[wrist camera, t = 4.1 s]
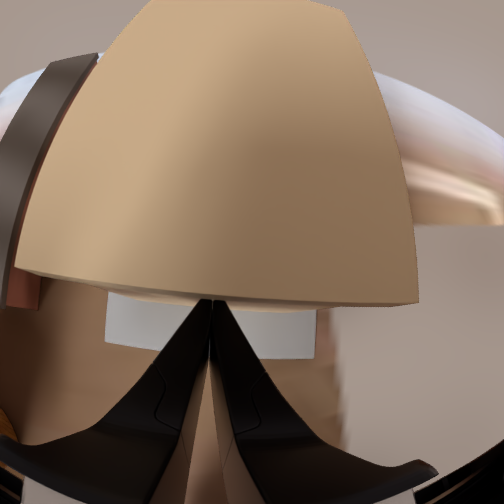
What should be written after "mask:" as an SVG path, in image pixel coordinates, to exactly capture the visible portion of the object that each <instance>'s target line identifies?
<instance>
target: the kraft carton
mask: <svg viewBox="0 0 504 504" xmlns="http://www.w3.org/2000/svg"><path fill="white" fill-rule="evenodd" d="M14 267H16V268H19V269H22V270H25V271H28V272H30V273H33V274H36V275H39V276H43V277H49V278H54V279H60V280H66V281H71V282H77V283H84V284H88V285H91V286H94V287H97V288H100V289H103V290H106V291H109V292H112V293H116V294H119V295H122V296H125V297H128V298H132V299H135V300H140V301H147V302H155V303H164V304H173V305H182V306H192V307H194V306H195V305H196V304H197V302H198V301H199V300H200V299H201V298H202V299H212V301H213V300H224V301H226V303H227V305H228V306H229V308H230V310H239V311H254V312H272V313H293V312H302V311H310V310H318V309H326V308H334V307H340V306H343V307H344V306H345V307H393V306H400V305H408V304H414V303H419V295H418V294H419V293H418V292H419V291H418V270H417V257H416V246H415V237H414V229H413V221H412V214H411V208H410V202H409V196H408V191H407V186H406V181H405V176H404V171H403V167H402V163H401V158H400V154H399V150H398V147H397V143H396V139H395V136H394V132H393V129H392V125H391V122H390V119H389V116H388V113H387V110H386V107H385V104H384V101H383V98H382V95H381V92H380V90H379V87H378V84H377V82H376V79H375V77H374V74H373V72H372V69H371V67H370V65H369V62H368V60H367V58H366V56H365V53H364V51H363V49H362V47H361V45H360V43H359V41H358V39H357V36H356V34H355V33H354V31H353V29H352V27H351V25H350V23H349V21H348V19H347V18H346V16H345V14H344V12H343V11H341V10H338V9H335V8H332V7H329V6H326V5H323V4H319V3H315V2H312V1H307V0H151V1H150V2H149V3H148V4H147V5H146V6H145V7H144V8H143V9H142V10H141V11H140V12H139V13H138V14H137V15H136V16H135V17H134V18H133V19H132V21H131V22H130V23H129V24H128V25H127V26H126V27H125V28H124V30H123V31H122V32H121V33H120V34H119V36H118V37H117V38H116V39H115V41H114V42H113V43H112V44H111V46H110V47H109V48H108V49H107V51H106V52H105V53H104V55H103V56H102V58H101V59H100V60H99V62H98V63H97V65H96V66H95V67H94V69H93V70H92V72H91V73H90V75H89V76H88V78H87V79H86V81H85V83H84V84H83V86H82V87H81V89H80V91H79V92H78V94H77V96H76V97H75V99H74V101H73V103H72V104H71V106H70V108H69V110H68V112H67V113H66V115H65V117H64V119H63V121H62V123H61V125H60V127H59V129H58V131H57V133H56V135H55V137H54V139H53V142H52V144H51V146H50V148H49V151H48V153H47V155H46V158H45V160H44V163H43V165H42V168H41V170H40V173H39V175H38V178H37V181H36V184H35V187H34V190H33V193H32V196H31V199H30V202H29V205H28V209H27V212H26V216H25V219H24V223H23V227H22V231H21V235H20V240H19V244H18V249H17V254H16V259H15V265H14ZM212 305H213V303H212Z"/></svg>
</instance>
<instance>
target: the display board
mask: <svg viewBox="0 0 504 504" xmlns="http://www.w3.org/2000/svg"><path fill="white" fill-rule="evenodd" d="M193 308H194V307H192V306H182V305H173V304H164V303H155V302H147V301H140V300H135V299H132V298H128V297H125V296H122V295H119V294H116V293H112V292H109V294H108V304H107V315H106V328H105V342H109V343H115V344H120V345H126V346H132V347H138V348H144V349H151V350H158V351H161V350H162V349H163V347H164V346H165V345H166V343H167V342H168V341H169V339H170V338H171V337H172V335H173V334H174V333H175V331H176V330H177V329H178V327H179V326H180V325H181V323H182V322H183V321H184V319H185V318H186V317H187V316H188V314H189V313H190V312H191V310H192V309H193ZM231 312H232V314H233V315H234V317H235V319H236V321H237V322H238V324H239V326H240V328H241V329H242V331H243V333H244V335H245V336H246V338H247V340H248V341H249V343H250V345H251V347H252V348H253V350H254V352H255V353H256V355H257V357H258V358H259V359H314V351H315V333H316V310H310V311H302V312H293V313H272V312H254V311H239V310H231ZM209 350H210V349H209Z"/></svg>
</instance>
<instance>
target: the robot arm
mask: <svg viewBox="0 0 504 504" xmlns="http://www.w3.org/2000/svg"><path fill="white" fill-rule="evenodd" d="M212 303H213V305H212ZM209 349H210V350H209ZM208 361H209V366H210V377H211V387H212V396H213V405H214V414H215V422H216V430H217V438H218V445H219V452H220V459H221V466H222V470H223V478H224V484H225V490H226V496H227V501H228V504H504V439H503V440H502V441H501V442H499V443H498V444H496V445H495V446H494V447H492V448H491V449H489V450H488V451H486V452H485V453H483V454H482V455H480V456H479V457H477V458H476V459H474V460H472V461H471V462H469V463H467V464H466V465H464V466H462V467H460V468H459V469H457V470H455V471H453V472H452V473H450V474H448V475H446V476H444V477H442V478H440V479H439V480H437V481H435V482H433V483H431V484H429V485H427V486H425V487H423V488H421V489H420V490H417V491H415V492H414V491H413V487H416V486H418V485H420V484H422V483H424V482H426V481H428V480H430V479H431V478H433V477H435V476H437V475H438V474H439V473H438V471H437V470H436V469H435V468H434V467H433V466H431V465H430V464H428V463H426V462H424V461H422V460H420V459H417V460H413V461H411V462H408V463H405V464H403V465H400V466H396V467H385V466H380V465H377V464H374V463H371V462H369V461H366V460H363V459H361V458H358V457H356V456H354V455H351V454H349V453H347V452H344V451H342V450H340V449H338V448H335V447H333V446H331V445H329V444H327V443H326V442H324V441H323V440H322V439H320V438H319V437H318V436H317V435H316V434H315V433H314V432H313V431H312V430H311V429H310V428H309V426H308V425H307V424H306V423H305V422H304V421H303V420H302V418H301V417H300V416H299V415H298V414H297V413H296V412H295V410H294V409H293V408H292V407H291V406H290V404H289V403H288V402H287V401H286V399H285V398H284V397H283V396H282V394H281V393H280V392H279V390H278V389H277V387H276V386H275V384H274V383H273V381H272V380H271V378H270V376H269V375H268V373H267V372H266V370H265V368H264V367H263V365H262V363H261V362H260V360H259V358H258V357H257V355H256V353H255V352H254V350H253V348H252V347H251V345H250V343H249V341H248V340H247V338H246V336H245V335H244V333H243V331H242V329H241V328H240V326H239V324H238V322H237V321H236V319H235V317H234V315H233V314H232V312H231V310H230V308H229V306H228V305H227V303H226V301H224V300H213V301H212V299H202V298H201V299H200V300H199V301H198V302H197V304H196V305H195V306H194V308H193V309H192V310H191V312H190V313H189V314H188V316H187V317H186V318H185V319H184V321H183V322H182V323H181V325H180V326H179V327H178V329H177V330H176V331H175V333H174V334H173V335H172V337H171V338H170V339H169V341H168V342H167V343H166V345H165V346H164V347H163V349H162V350H161V352H160V353H159V354H158V356H157V357H156V358H155V360H154V361H153V363H152V364H151V365H150V366H149V368H148V369H147V370H146V372H145V373H144V374H143V375H142V377H141V378H140V379H139V380H138V382H137V383H136V384H135V385H134V386H133V387H132V388H131V389H130V390H129V391H128V392H127V394H126V395H125V396H124V397H123V398H122V399H121V400H120V401H119V402H118V403H117V404H116V405H115V406H114V407H113V408H112V409H111V410H110V411H109V412H108V413H107V414H106V415H105V416H104V417H103V418H102V419H101V420H100V421H98V422H97V423H96V424H94V425H93V426H91V427H89V428H88V429H85V430H83V431H80V432H77V433H74V434H72V435H69V436H66V437H63V438H60V439H57V440H54V441H51V442H47V443H44V444H40V445H24V444H21V443H19V442H17V441H15V440H13V439H12V438H10V437H8V436H6V435H4V434H0V461H1V462H3V463H4V464H6V465H7V466H9V467H11V468H12V469H14V470H16V471H17V472H19V473H21V474H22V475H24V477H23V480H22V479H20V478H19V477H17V476H15V475H14V474H12V473H10V472H9V471H7V470H6V469H4V468H3V467H1V466H0V504H184V502H185V495H186V489H187V482H188V476H189V468H190V463H191V457H192V451H193V445H194V439H195V433H196V428H197V422H198V416H199V411H200V405H201V400H202V394H203V389H204V383H205V378H206V373H207V367H208Z"/></svg>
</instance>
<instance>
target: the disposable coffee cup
mask: <svg viewBox="0 0 504 504" xmlns="http://www.w3.org/2000/svg"><path fill="white" fill-rule="evenodd" d="M0 434H4V435H6V436H8V437H10V438H12V439H13V440H15V441H17V437H16V435H15V432H14V430H13V427H12V425H11V423H10V422H9V420H8V418H7V416H6V415H5V413H4V412H3V410H2V409H1V408H0ZM17 442H18V441H17ZM0 466H1V467H3V468H4V469H5V468H6V467H7V465H6V464H4V463H3V462H1V461H0Z"/></svg>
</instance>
